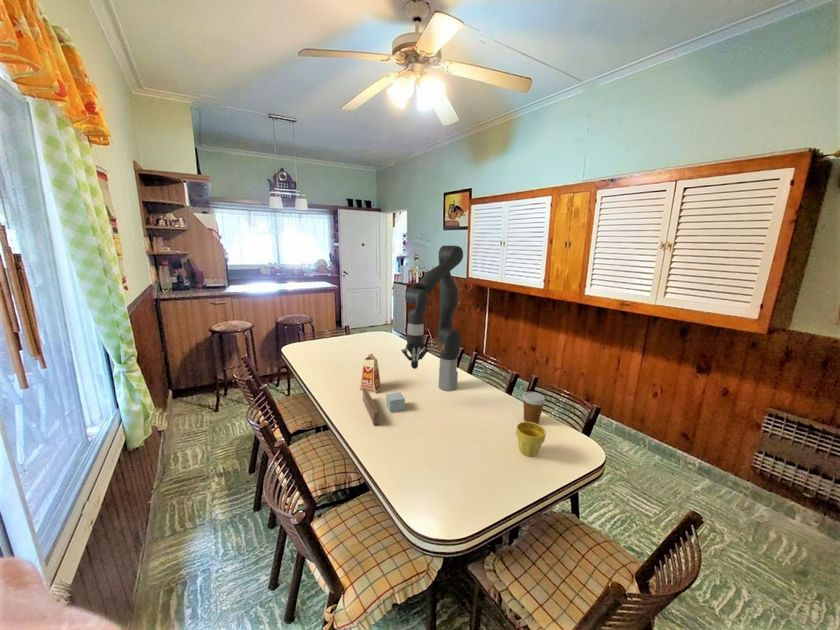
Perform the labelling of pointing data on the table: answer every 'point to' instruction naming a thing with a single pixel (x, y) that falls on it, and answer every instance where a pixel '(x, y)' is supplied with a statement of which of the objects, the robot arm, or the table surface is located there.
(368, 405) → the board
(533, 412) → the disposable coffee cup
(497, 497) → the table surface
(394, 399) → the block
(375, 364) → the milk carton
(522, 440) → the plant pot
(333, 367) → the table surface
